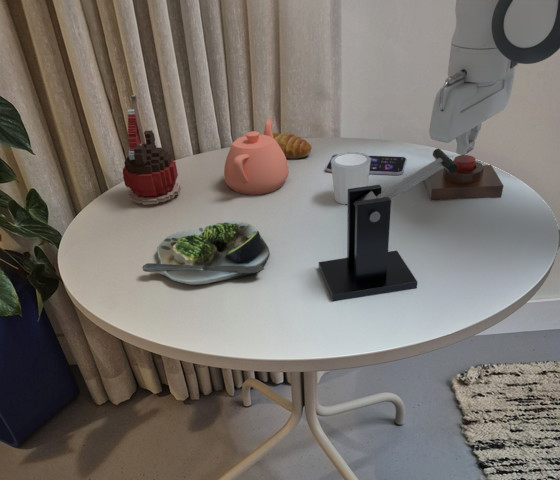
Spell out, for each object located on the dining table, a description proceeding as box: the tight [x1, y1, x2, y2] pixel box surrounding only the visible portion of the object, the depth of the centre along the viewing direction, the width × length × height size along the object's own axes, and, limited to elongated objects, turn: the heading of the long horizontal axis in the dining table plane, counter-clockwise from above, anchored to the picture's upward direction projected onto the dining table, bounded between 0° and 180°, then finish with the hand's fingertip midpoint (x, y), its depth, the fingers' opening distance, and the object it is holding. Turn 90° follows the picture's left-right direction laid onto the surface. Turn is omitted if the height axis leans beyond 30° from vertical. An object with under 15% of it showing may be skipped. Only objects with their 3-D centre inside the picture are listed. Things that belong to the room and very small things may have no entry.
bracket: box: [318, 184, 418, 302], centre depth 79 cm, size 12×9×13 cm
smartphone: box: [325, 153, 408, 176], centre depth 113 cm, size 8×1×15 cm
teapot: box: [223, 117, 290, 195], centre depth 108 cm, size 12×18×10 cm
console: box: [422, 159, 504, 202], centre depth 101 cm, size 12×9×4 cm
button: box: [453, 154, 477, 171], centre depth 100 cm, size 4×4×2 cm
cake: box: [122, 94, 181, 205], centre depth 103 cm, size 11×9×18 cm
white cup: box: [331, 151, 371, 205], centre depth 101 cm, size 7×7×7 cm
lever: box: [354, 148, 458, 207], centre depth 74 cm, size 13×6×2 cm, turn 99°
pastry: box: [272, 132, 313, 160], centre depth 119 cm, size 9×7×4 cm
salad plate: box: [142, 220, 271, 285], centre depth 88 cm, size 19×18×5 cm
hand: (464, 152), depth 98 cm, fingers closed
